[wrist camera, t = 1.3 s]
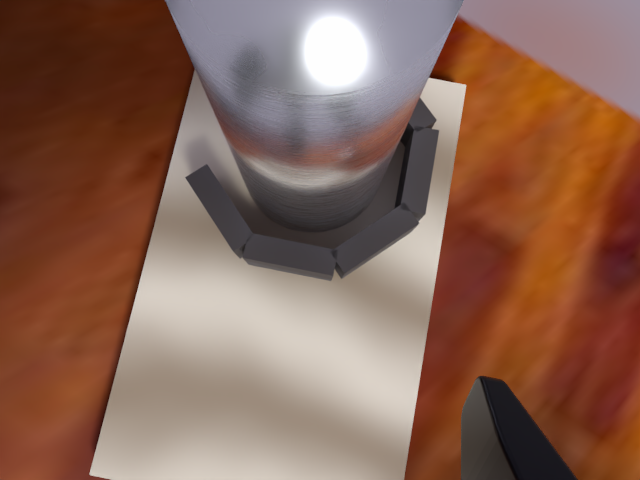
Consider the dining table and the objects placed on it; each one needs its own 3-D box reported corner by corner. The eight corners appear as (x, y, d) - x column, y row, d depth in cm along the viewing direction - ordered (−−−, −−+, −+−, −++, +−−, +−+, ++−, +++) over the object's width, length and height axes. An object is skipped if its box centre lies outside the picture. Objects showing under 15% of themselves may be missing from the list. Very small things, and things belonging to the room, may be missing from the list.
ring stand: (390, 528, 21) (403, 560, 18) (99, 468, 21) (65, 489, 18) (459, 94, 24) (480, 62, 22) (208, 46, 25) (193, 7, 22)
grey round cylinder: (406, 193, 23) (533, 6, 10) (282, 257, 22) (241, 147, 9) (341, 77, 23) (377, -233, 11) (219, 136, 23) (103, -118, 10)
